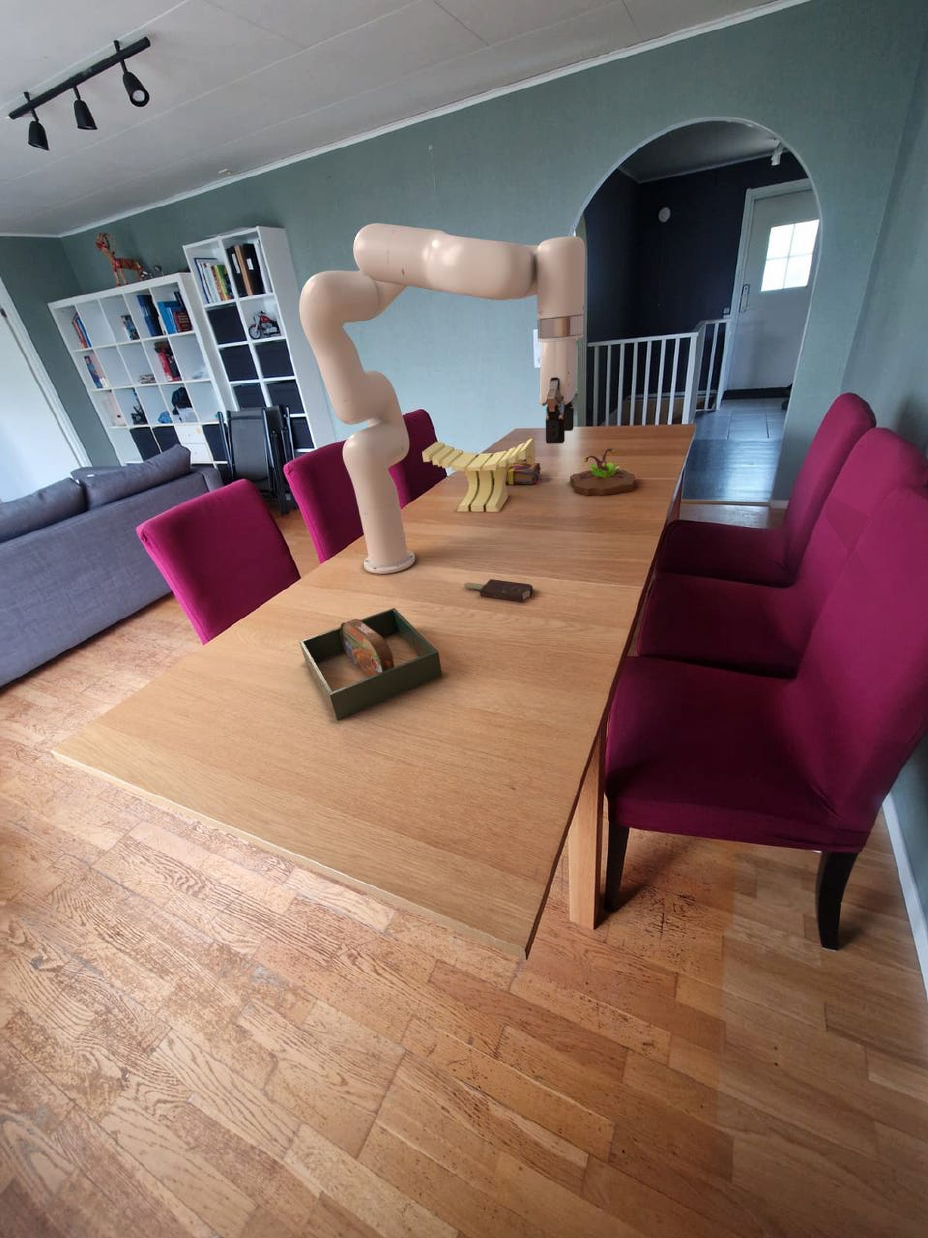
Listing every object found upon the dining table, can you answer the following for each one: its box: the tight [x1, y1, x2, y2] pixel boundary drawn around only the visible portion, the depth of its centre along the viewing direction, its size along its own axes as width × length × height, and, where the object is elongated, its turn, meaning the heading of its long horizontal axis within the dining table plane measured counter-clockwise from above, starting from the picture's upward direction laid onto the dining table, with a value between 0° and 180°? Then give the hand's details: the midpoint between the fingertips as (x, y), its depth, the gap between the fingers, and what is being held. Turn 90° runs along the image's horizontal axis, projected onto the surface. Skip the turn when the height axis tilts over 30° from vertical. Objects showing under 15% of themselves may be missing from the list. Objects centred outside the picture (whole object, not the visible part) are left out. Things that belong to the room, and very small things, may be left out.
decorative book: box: [505, 462, 542, 485], centre depth 175 cm, size 11×16×5 cm
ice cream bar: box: [463, 578, 534, 603], centre depth 107 cm, size 5×2×15 cm
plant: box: [569, 448, 637, 496], centre depth 159 cm, size 20×20×11 cm
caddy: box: [298, 607, 443, 722], centre depth 87 cm, size 18×18×5 cm
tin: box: [339, 618, 395, 678], centre depth 86 cm, size 15×3×8 cm, turn 37°
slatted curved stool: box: [421, 437, 536, 513], centre depth 154 cm, size 30×16×18 cm, turn 74°
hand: (560, 436), depth 94 cm, fingers open, 9 cm apart
